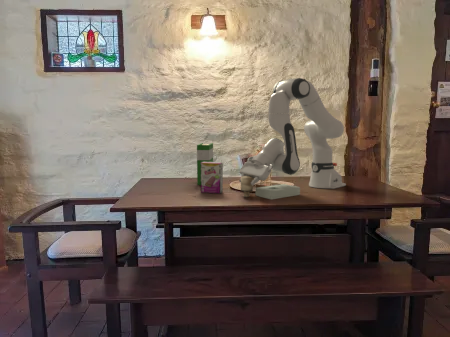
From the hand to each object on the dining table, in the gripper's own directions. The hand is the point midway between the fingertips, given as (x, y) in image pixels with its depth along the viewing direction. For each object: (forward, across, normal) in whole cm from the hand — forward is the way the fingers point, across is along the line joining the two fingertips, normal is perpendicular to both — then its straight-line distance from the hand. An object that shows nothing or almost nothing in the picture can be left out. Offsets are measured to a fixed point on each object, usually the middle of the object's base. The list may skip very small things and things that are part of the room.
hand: (245, 183), depth 194 cm
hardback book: (+3, +48, -7) cm, 49 cm away
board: (-6, -6, -16) cm, 18 cm away
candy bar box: (+12, +18, +2) cm, 22 cm away
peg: (+4, 0, -5) cm, 7 cm away
